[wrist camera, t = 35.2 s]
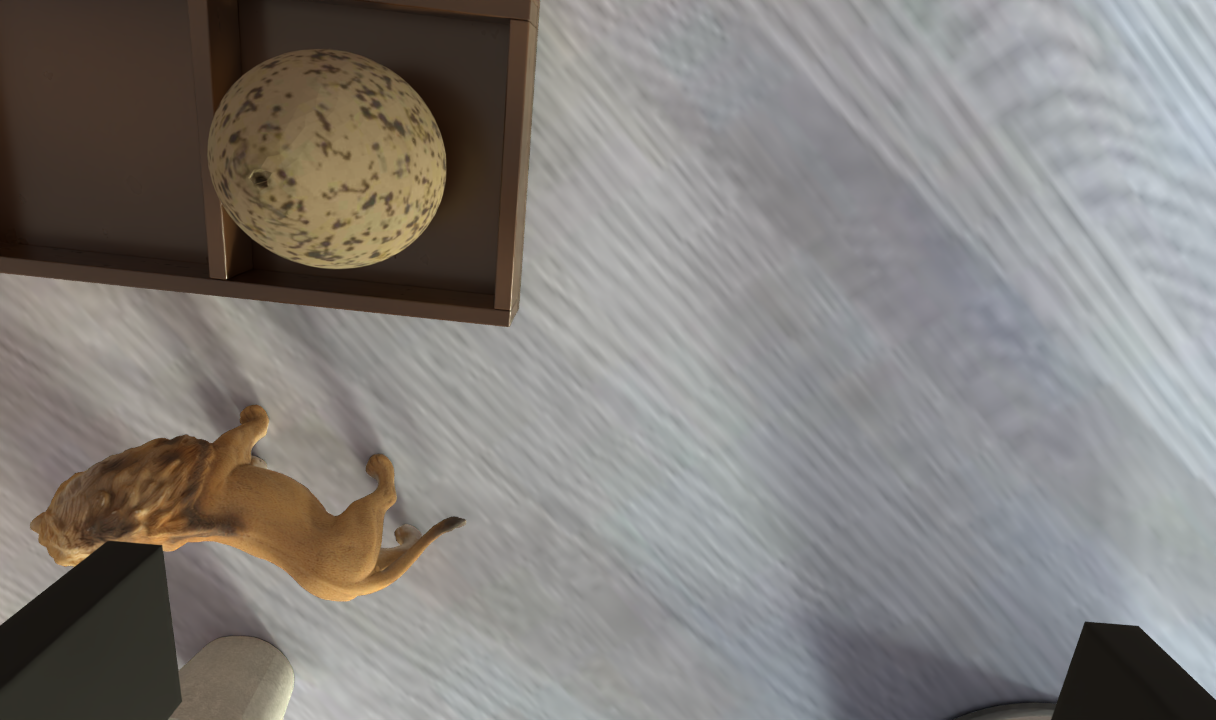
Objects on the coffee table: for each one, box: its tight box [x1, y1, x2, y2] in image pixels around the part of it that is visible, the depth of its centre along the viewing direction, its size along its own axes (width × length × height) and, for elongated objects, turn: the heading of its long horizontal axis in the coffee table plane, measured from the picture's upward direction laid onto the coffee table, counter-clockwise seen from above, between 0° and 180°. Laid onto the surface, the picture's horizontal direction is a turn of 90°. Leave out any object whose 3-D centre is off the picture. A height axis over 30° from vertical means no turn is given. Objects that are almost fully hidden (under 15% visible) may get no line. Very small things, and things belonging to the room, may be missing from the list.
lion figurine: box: [30, 405, 466, 601], centre depth 29 cm, size 15×5×9 cm, turn 72°
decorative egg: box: [207, 49, 446, 269], centre depth 24 cm, size 7×7×10 cm
